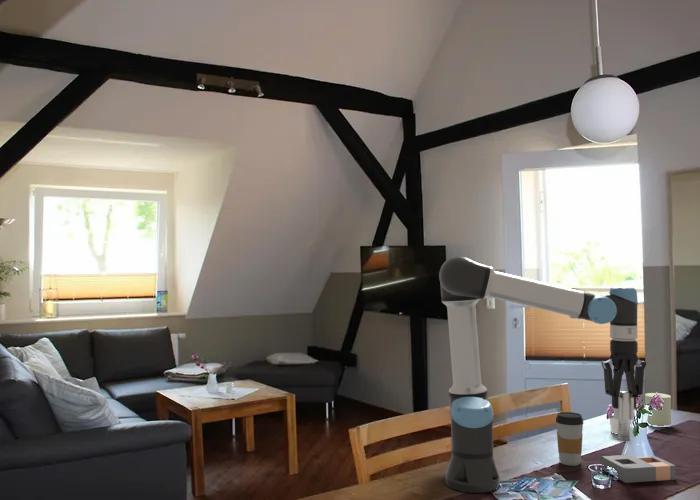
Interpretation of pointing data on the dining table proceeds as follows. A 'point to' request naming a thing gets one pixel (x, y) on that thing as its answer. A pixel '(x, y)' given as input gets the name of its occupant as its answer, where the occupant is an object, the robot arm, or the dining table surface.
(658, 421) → the can
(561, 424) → the coffee cup
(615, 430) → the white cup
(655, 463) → the mount block
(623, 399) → the pin
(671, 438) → the dining table surface
